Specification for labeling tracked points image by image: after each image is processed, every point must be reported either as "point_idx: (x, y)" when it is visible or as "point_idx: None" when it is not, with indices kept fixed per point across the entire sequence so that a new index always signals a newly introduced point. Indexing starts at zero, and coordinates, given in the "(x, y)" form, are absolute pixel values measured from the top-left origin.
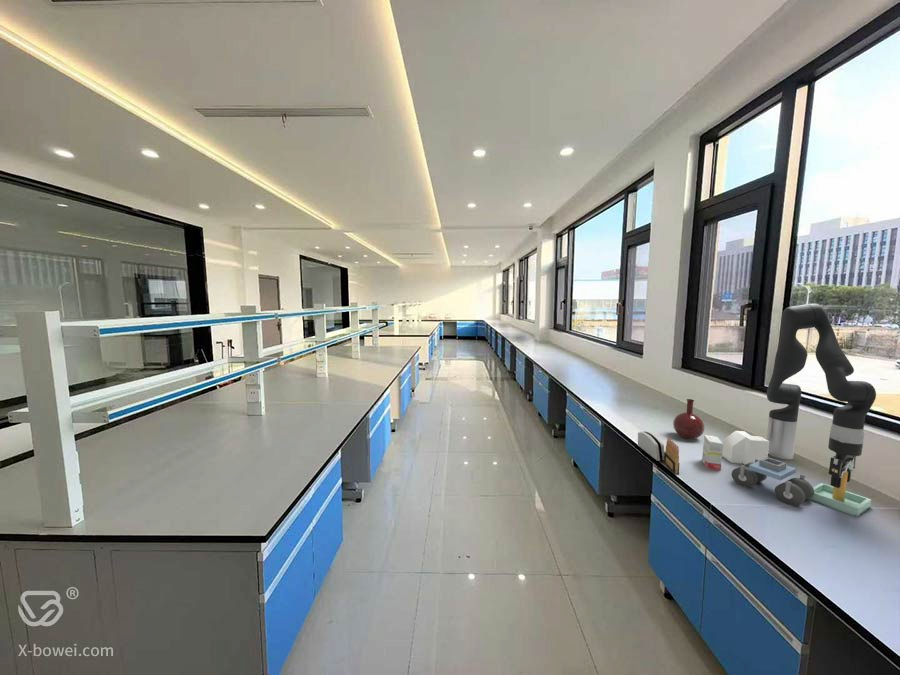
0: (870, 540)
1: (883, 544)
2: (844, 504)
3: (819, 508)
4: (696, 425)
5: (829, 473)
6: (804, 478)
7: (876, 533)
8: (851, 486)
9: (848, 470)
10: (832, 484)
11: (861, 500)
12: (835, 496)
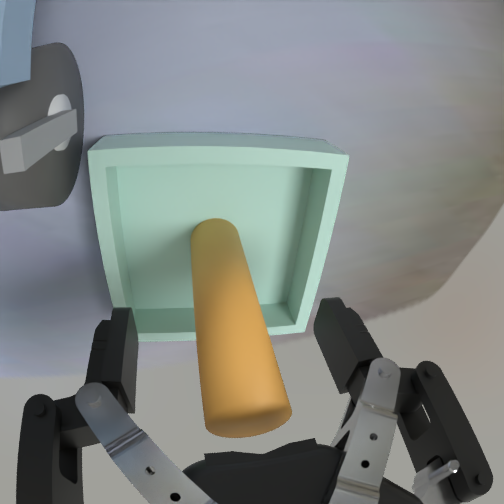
0: (15, 351)
1: (31, 367)
2: (114, 304)
3: (51, 215)
4: None
5: (27, 408)
6: (38, 157)
7: (71, 354)
8: (464, 213)
9: (353, 393)
10: (101, 327)
11: (294, 299)
12: (193, 251)
